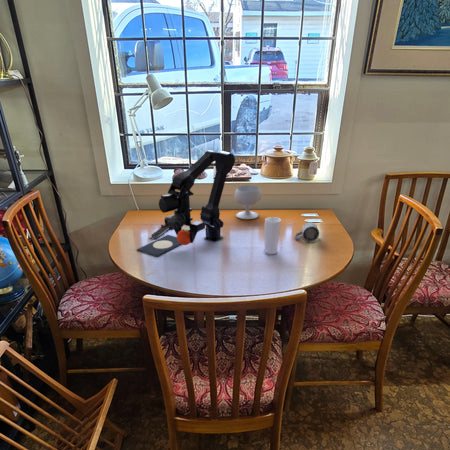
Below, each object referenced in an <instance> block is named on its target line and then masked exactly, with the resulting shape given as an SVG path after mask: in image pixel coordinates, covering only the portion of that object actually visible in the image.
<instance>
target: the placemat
mask: <svg viewBox="0 0 450 450" xmlns="http://www.w3.org/2000/svg"><path fill="white" fill-rule="evenodd" d="M181 245H182V244H180V243H179V242H178V241H177V236H174V235H170V234H166V235H165V236H162V237H159V238H157V239H156V240H154V241H151V242H150V243H148V244H146V245H143V246H141V247H139V248H137V251H138V252H141V253H144V254H148V255H150V256H153V257H156V258H158V257H160V256H162V255H164V254H166V253H168V252H170V251H172V250H173V249H175V248H177V247H179V246H181Z"/></svg>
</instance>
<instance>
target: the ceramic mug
mask: <svg viewBox="0 0 450 450" xmlns="http://www.w3.org/2000/svg"><path fill="white" fill-rule="evenodd" d="M319 237H320V230H319V227H318V226H317V224H316V223H314V222H306V223H305V224H303V226H302V228H301V230H300V231H299V232H296V233H295V234H294V238H295V240H302V239H303V240H304V242H307V243H314V242H316V241H318V239H319Z"/></svg>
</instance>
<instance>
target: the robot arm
mask: <svg viewBox="0 0 450 450" xmlns="http://www.w3.org/2000/svg"><path fill="white" fill-rule="evenodd" d="M213 163H214V168H215V171H216V172H215V175H214V178H213V182H212V186H211V191H210V194H209V198H208V202H207V203H206V205H205V206H204V205H202V206H201V211H200V213H199V216H200V217H199V219H200V220H195V221H193V220H194V219H193V218H194V217H191V212H192V211H193V208H192V207H191V202H190V197H191V196H193V195H194V194H195V193H194V192H192V191H191V190H192V188H193V186H195V181H196V180H197V179H198V177H199V176H200V175H201V174H203V173H204V172H205V171H206V170H207V169H209V167H210V166H211V165H212V164H213ZM235 163H236V157H235V155H234V153H232V152H228V151H223V150H221V151H218V152H216V150H210V149H207V150H206V151H205V152H204V154H203V155H202V156H201V157H199V158H198V159H197V160H196V161H195V162H194V163H193V164H192V165H191V166H190V167H189V168H188V169H187V170H185V171H182V172H179V173H178V174H176V175H175V176H173V178H172V182H171V184H170V186H169V188H168V190H167V194H162V195H160V198H159V200H158V207H159V210H160V211H161V212H162V213H163V214H166V213H169V212H172V211H174V212H173V213H172V214H169V215H167V216H165V217H164V225H165V224H168V225H169V227H170V228H173V229H172V230H174V233H175V235H176V236H177V234H178V232H179V231H180V230H183V228H182V227H183V226H187V227H189V228H188V229H190V230H188V232H189V233H190V242H191V243H190V244H193V243H194V241H195V238H196V236H197V234H198V232H200V231H202V230H205V236H204V240H207V241H211V242H217V241H220V240H221V239H222V238H223V236H222V234H221V230H222V228H224V224H225V222H224V221H223V220H222V219H220V215H221V213H220V208H219V207H220V202H221V198H222V195H223V191H224V187H225V184H226V180H227V177H228V174H230V172H231V171H232V170H233V167H234V165H235ZM192 221H193V222H192Z"/></svg>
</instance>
